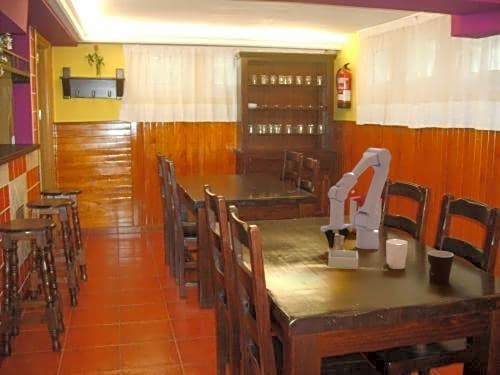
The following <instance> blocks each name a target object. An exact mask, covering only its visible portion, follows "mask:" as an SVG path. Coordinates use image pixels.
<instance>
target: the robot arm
mask: <svg viewBox="0 0 500 375" xmlns="http://www.w3.org/2000/svg"><path fill="white" fill-rule="evenodd" d="M392 158H393V156H392V155H391V153H390V150H389V149H387V148H375V147H369V148H367V149H366V151H364V152H363V155H362V157H361V159H360V160H359V162H358V163H357V164H356V165H355V166H354V168H353V169H352V170H351V172H346V173H344V174H343V175H342V178H341V179H339V181H338V182H336V184H335V185H333V186H331V187H330V188H329V190H328V192H327V196H328V198H329V203H330V204H329V206H330V209H329V224H327V225H323V226H320V232H323V233H324V235H325V238H326V239H327V243H328V248H329V247H330V248H333V245H334V236H335V234H336V232H334V231H337V232H338V234H341V235H343V236H344V244H345V242H346V240H347V237H348V235H349V234H350V230H352V227H353V224H350V223H345V200H347V198H348V196H349V192H350V191H351V190H352V189H353V188H354V187H355V185H356V184H357V183H358V178H359V177H360V176H361V175H362V174H363V172H365V171H366V170H367V169H368V168H369V167H370V166H371V167H372V168H373V171H374V174H373V176H372V180H371V183H370V186H369V188H368V191H367V193H368V194H367V197H366V200H365V202H364V205H363V206H362V207H361V208H359V209H358V212H357V213H356V214H355V216H354V218H353V222H354V224H355V225H356V228H357V234H356V238H355V239H356V240H355V244H356V245H355V247H356V248H358V249H359V250H360V249H362V250H378V249H379V246H380V242H379V229H378V230H375V228H376V227H377V225H378V216H379V214H378V213H377V211H376V208H377V205H378V202H379V199H380V198H381V195H382V193H383V190H384V187H385V183H386V181H387V179H388V175H389V173H390V164H391V160H392ZM367 214H369V215H367Z"/></svg>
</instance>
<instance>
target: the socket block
mask: <svg viewBox="0 0 500 375" xmlns="http://www.w3.org/2000/svg"><path fill="white" fill-rule="evenodd" d="M328 248H329V250H344V249H345V243H344V236H343V235H341V234H339V233H335V236H334V245H333V248H330V247H329V246H328Z"/></svg>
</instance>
